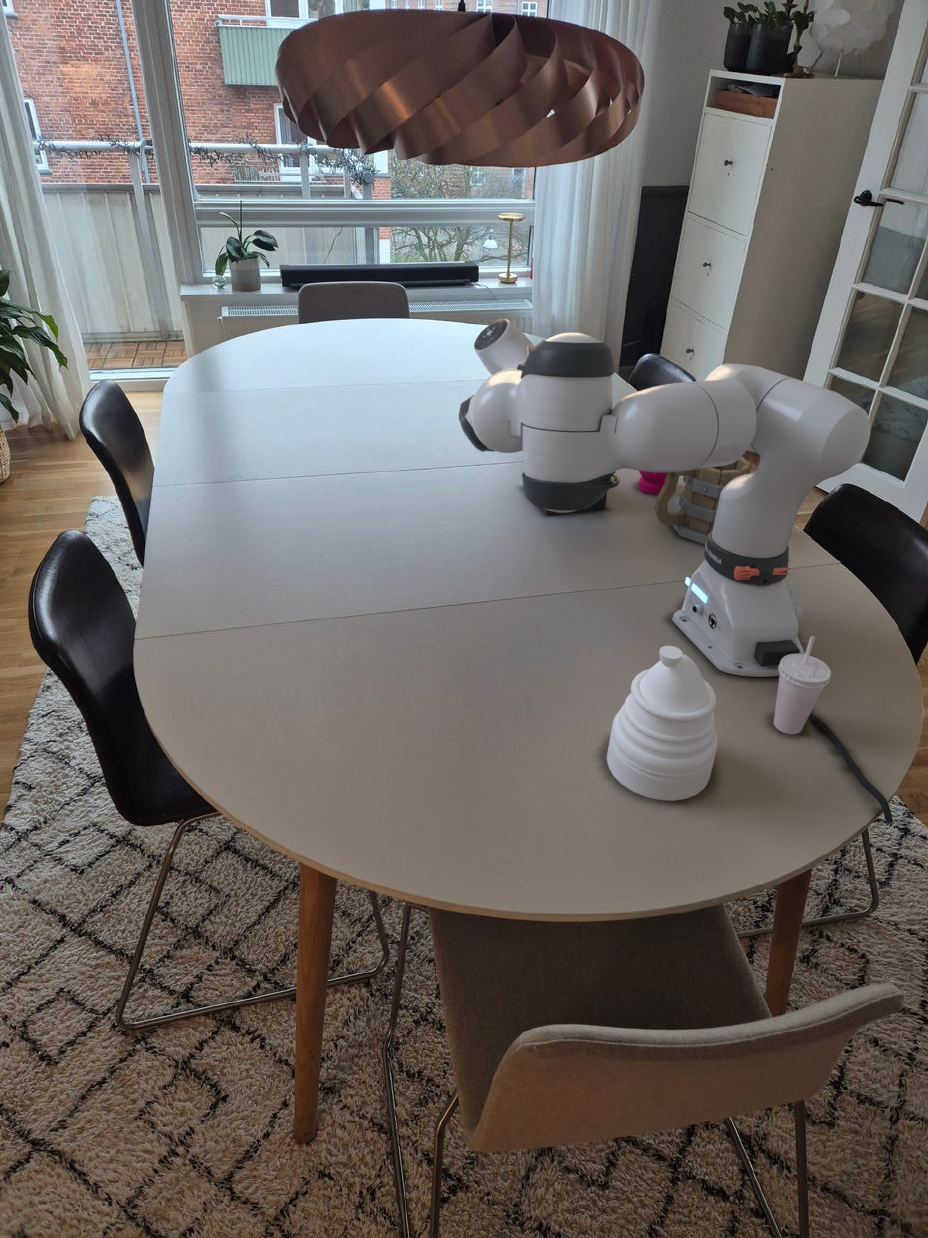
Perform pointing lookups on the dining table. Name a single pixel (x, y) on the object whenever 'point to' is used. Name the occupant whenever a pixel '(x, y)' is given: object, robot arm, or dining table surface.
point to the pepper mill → (652, 482)
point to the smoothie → (799, 689)
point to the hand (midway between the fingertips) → (573, 431)
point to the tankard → (697, 498)
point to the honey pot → (665, 731)
